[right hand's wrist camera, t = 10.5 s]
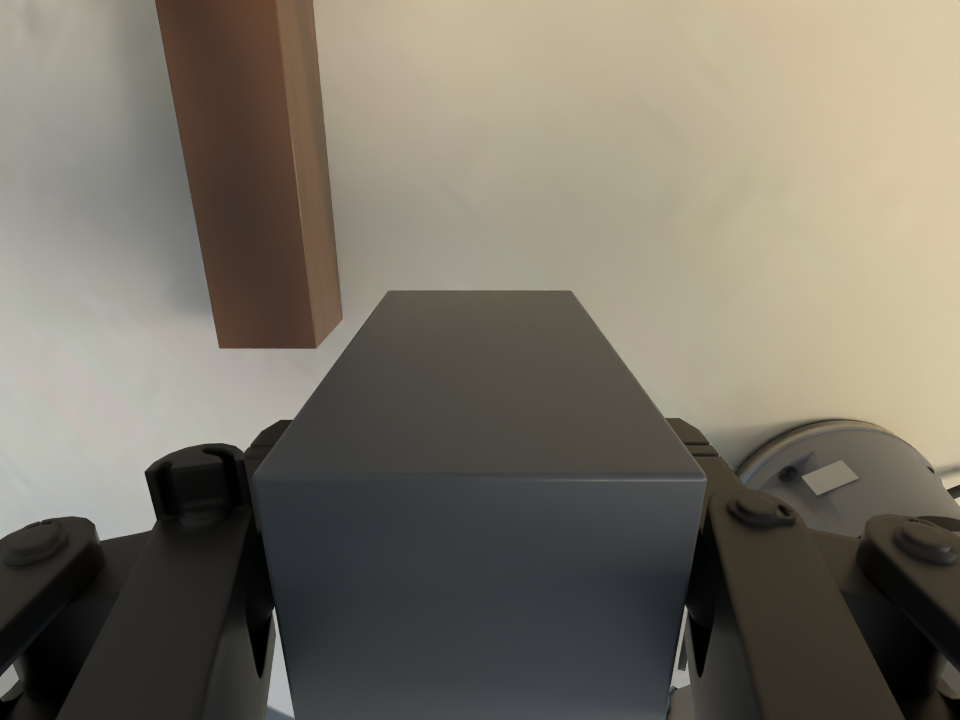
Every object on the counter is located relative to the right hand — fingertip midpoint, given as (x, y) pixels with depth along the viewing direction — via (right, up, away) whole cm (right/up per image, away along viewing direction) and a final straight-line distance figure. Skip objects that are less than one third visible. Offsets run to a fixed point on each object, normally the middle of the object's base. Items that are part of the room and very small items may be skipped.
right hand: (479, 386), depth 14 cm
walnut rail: (-12, +16, +16) cm, 25 cm away
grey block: (0, 0, +1) cm, 1 cm away
